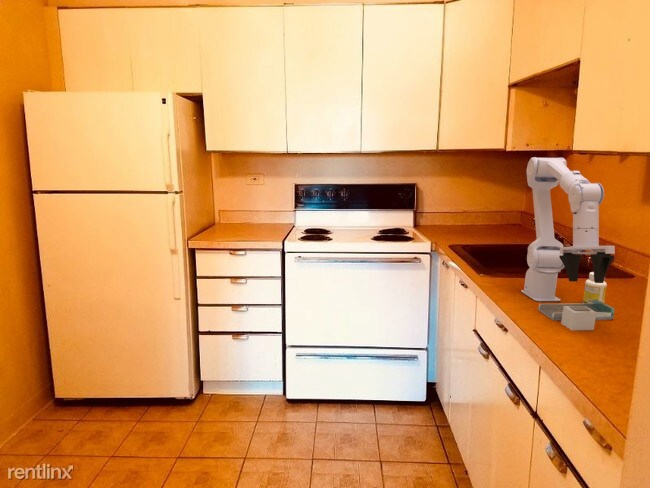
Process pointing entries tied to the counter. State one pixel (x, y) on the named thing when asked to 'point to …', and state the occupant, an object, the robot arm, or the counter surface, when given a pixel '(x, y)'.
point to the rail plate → (599, 307)
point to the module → (578, 318)
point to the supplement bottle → (594, 290)
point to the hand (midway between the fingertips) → (585, 282)
